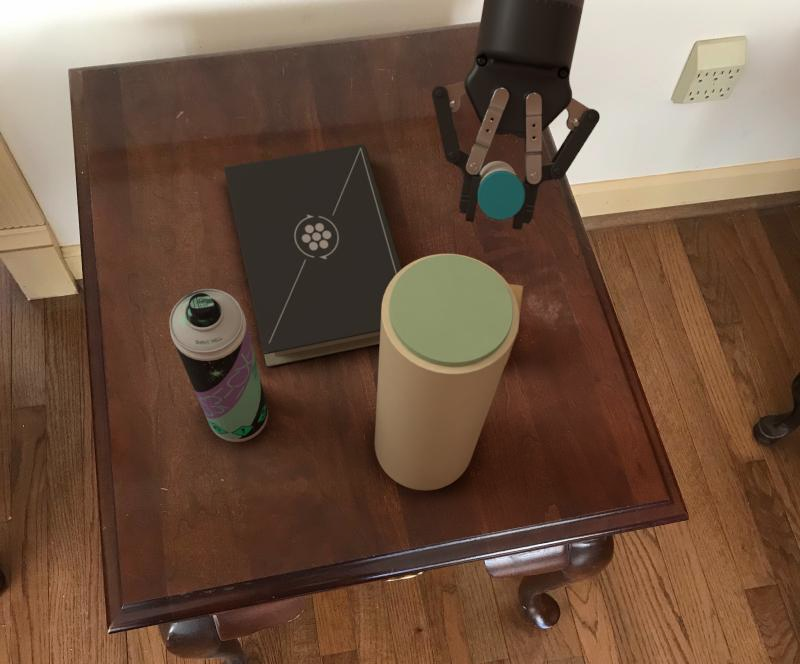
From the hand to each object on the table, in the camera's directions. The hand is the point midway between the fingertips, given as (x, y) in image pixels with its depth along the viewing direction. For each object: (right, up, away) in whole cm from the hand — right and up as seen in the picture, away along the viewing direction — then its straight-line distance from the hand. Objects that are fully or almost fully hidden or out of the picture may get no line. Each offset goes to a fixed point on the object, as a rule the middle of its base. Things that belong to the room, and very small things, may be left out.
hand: (493, 223), depth 69 cm
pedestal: (-6, -19, +7) cm, 21 cm away
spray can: (-23, -16, +7) cm, 29 cm away
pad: (-5, -9, -15) cm, 18 cm away
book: (-16, -1, +14) cm, 21 cm away
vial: (0, +3, 0) cm, 3 cm away
